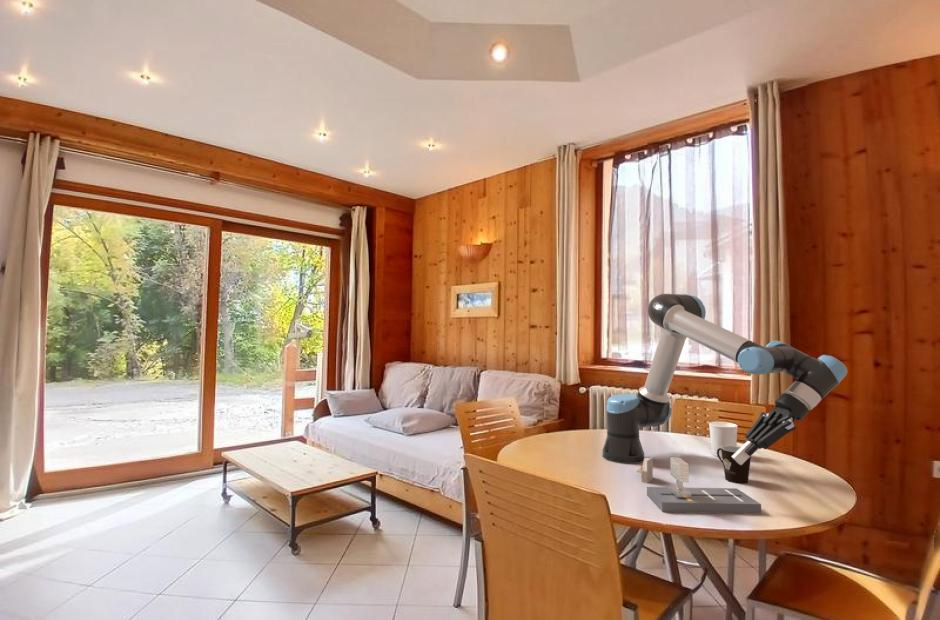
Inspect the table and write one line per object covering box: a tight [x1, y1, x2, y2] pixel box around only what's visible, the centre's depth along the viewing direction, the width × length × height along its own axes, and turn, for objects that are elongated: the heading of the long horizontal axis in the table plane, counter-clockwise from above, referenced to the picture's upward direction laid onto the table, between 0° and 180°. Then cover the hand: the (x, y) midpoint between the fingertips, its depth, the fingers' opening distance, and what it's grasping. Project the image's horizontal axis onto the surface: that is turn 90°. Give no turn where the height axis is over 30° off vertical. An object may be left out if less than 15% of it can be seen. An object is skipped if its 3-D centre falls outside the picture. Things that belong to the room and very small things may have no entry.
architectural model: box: [636, 456, 654, 484], centre depth 150 cm, size 3×7×7 cm, turn 143°
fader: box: [667, 456, 692, 498], centre depth 130 cm, size 4×6×9 cm, turn 178°
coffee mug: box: [717, 446, 752, 485], centre depth 151 cm, size 12×9×10 cm
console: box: [646, 486, 762, 515], centre depth 129 cm, size 26×12×3 cm, turn 88°
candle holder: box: [708, 421, 739, 459], centre depth 179 cm, size 10×10×12 cm
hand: (736, 460), depth 129 cm, fingers closed
